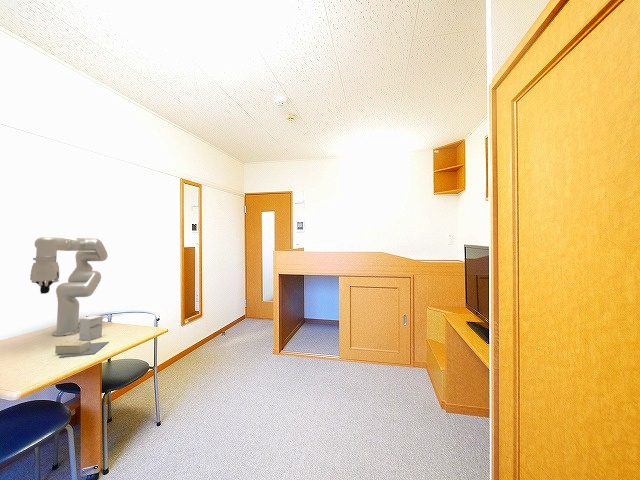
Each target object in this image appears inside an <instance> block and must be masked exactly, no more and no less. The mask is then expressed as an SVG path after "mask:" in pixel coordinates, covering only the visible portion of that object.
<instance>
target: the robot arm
mask: <svg viewBox="0 0 640 480" xmlns="http://www.w3.org/2000/svg"><path fill="white" fill-rule="evenodd" d="M34 248H36V253H35V257H33V258H32V260H33V261H35V262H33V263H32V266H31V270H30V275H29V279H30V282H31V283H33V284H37V285H38V286H39V292H40V294H41V295H43V294H48V293H50V291H51V290H50V286H52V285H53V284H54V283H58V282H59V281H60V265H59V262H58V261H57V255H58V253H57V252H58V251H63V252H66V251H67V252H73V251H75V252H76V251H77V252H76V253H75V263H76V267H75V268H74V270H73V271H72V272H71V274H70V275H69V277H68V278H67V282H63V283H60V284H58V285H57V287H56V289H55V293H56V297H57V298H56V299H57V310H56V311H57V315H56V318H57V319H56V331H54V332H52V336H54V337H62V336H69V335H75V334H77V333H80V327H79V326H80V321H79V320H80V302H79V300H78V299H77V298H86V297H91V296H92V295H93V294H94V292H95V291H96V289H97V287H99V284H100V282H101V279H102V274H101V273H100V272H99V271H97V270H93V267H92V265H91V264H90V263H89V262H103V261H106V260H107V259H108V252H107V250H106V249H107V248H106V247H105V246H104V243H103V242H102V241H101V240H100V239H99V238H85V237H82V238H81V237H49V236H48V237H47V236H46V237H45V236H43V237H42V236H41V237H38V238H36V240H35V241H34Z"/></svg>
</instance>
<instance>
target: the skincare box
mask: <svg viewBox="0 0 640 480" xmlns="http://www.w3.org/2000/svg"><path fill="white" fill-rule="evenodd" d="M91 343H92V341H91V340H89V341H86V340H79V341H78V340H77V341H76V340H68V341H65V342H62V343H59V344H56V345H55V350H54V354H55V355H56V354H57V355H60V354H61V355H63V354H81V353H83V352H85V351H87V350H89V349H90V344H91Z"/></svg>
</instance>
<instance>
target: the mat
mask: <svg viewBox="0 0 640 480" xmlns="http://www.w3.org/2000/svg"><path fill="white" fill-rule="evenodd" d="M109 343H110V341H100V342H91V344H90V349H89V350H87V351H85V352H83V353H81V354H61V355H60V356H58V359H64V358H73V357H80V356H90V355H96V353H98V352H99V351H101V350H102V349H103V348H104V347H106V345H108V344H109Z"/></svg>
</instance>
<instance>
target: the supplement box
mask: <svg viewBox="0 0 640 480" xmlns="http://www.w3.org/2000/svg"><path fill="white" fill-rule="evenodd" d="M79 320H80V321H79V322H80V325H79V328H80V332H79V334H78V335H79V337H78V340H79V341H91V340H94V339H97V338H100V337H102V336H103V315H98V314H96V315H95V314H93V315H90V316H86V317H81V318H79Z"/></svg>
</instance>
